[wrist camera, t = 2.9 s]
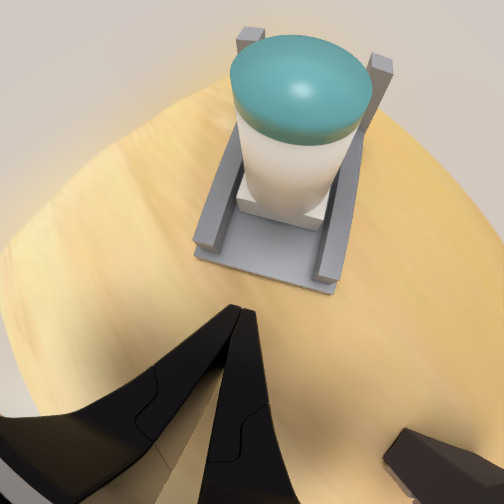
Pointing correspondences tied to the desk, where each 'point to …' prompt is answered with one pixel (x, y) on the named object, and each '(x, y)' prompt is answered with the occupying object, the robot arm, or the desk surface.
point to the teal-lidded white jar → (295, 123)
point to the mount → (278, 233)
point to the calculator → (442, 472)
